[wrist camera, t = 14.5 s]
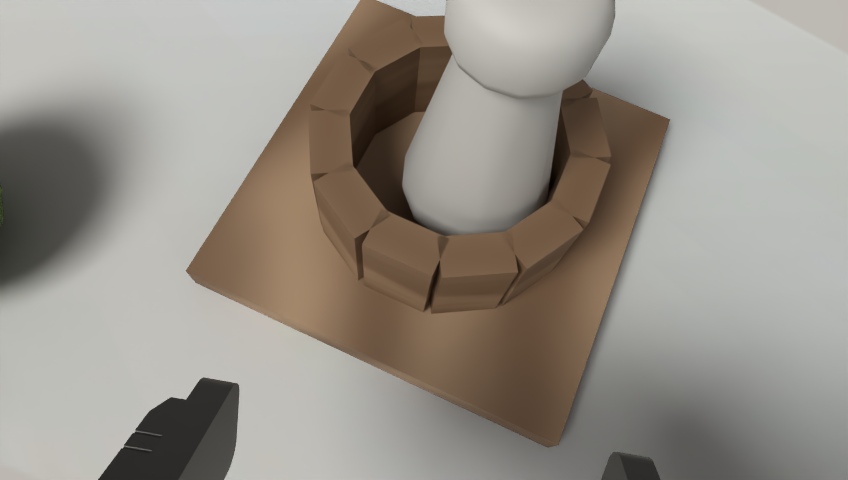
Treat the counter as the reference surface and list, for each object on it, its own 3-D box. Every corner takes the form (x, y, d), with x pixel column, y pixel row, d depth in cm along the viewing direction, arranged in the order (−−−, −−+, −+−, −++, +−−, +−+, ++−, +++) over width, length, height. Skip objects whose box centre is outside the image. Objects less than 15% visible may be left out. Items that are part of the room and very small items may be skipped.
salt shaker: (408, 139, 28) (431, -129, 16) (534, 154, 28) (652, -100, 16) (393, 261, 26) (408, 57, 14) (531, 276, 26) (665, 88, 14)
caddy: (656, 136, 31) (718, 57, 25) (548, 447, 25) (597, 434, 19) (364, 16, 32) (361, -83, 27) (195, 282, 26) (147, 226, 21)
